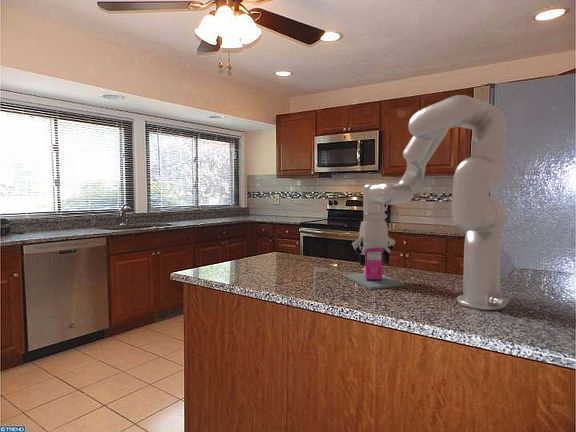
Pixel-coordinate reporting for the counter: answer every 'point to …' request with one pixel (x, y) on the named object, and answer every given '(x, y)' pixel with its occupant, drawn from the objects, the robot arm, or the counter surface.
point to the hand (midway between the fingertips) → (374, 264)
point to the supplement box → (373, 265)
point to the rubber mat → (385, 282)
